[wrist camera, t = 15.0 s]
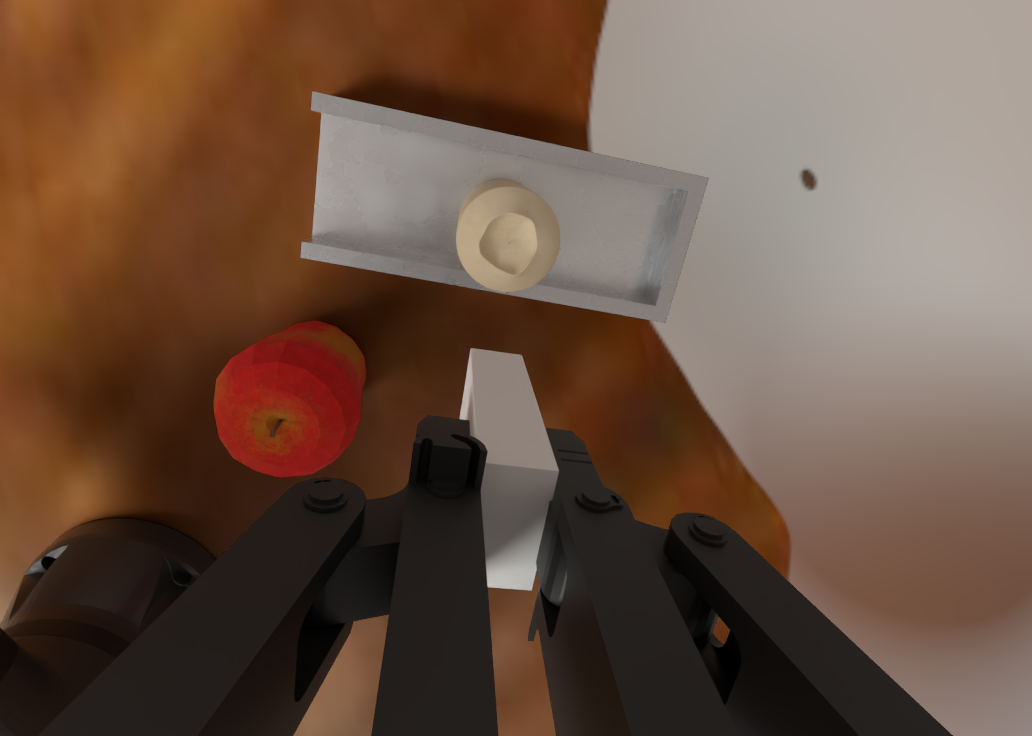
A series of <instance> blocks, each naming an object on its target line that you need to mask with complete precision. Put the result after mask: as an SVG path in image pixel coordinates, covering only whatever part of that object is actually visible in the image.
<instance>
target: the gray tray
mask: <svg viewBox="0 0 1032 736" xmlns="http://www.w3.org/2000/svg"><path fill="white" fill-rule="evenodd" d="M311 111H315V112H319V113H322V114H321V127H320V140H319V154H318V167H317V180H316V193H315V206H314V219H313V232H312V236H311V237H309V238H307V239H305V240H304V241H302V244H301V258H305V259H311V260H317V261H322V262H328V263H333V264H339V265H345V266H350V267H356V268H361V269H367V270H373V271H378V272H384V273H389V274H395V275H401V276H406V277H412V278H417V279H423V280H429V281H434V282H440V283H445V284H451V285H457V286H462V287H468V288H473V289H479V290H485V291H490V292H496V293H501V294H507V295H512V296H518V297H524V298H529V299H535V300H540V301H546V302H552V303H557V304H563V305H568V306H574V307H580V308H585V309H591V310H596V311H602V312H608V313H613V314H619V315H624V316H630V317H636V318H641V319H647V320H652V321H659V322H664V323H665V322H666V319H667V316H668V312H669V309H670V306H671V302H672V299H673V295H674V292H675V289H676V286H677V282H678V279H679V276H680V272H681V269H682V266H683V262H684V259H685V255H686V252H687V249H688V245H689V242H690V239H691V235H692V232H693V229H694V225H695V222H696V219H697V215H698V212H699V209H700V205H701V202H702V198H703V195H704V192H705V188H706V185H707V182H708V178H706V177H701V176H697V175H692V174H688V173H683V172H679V171H674V170H670V169H665V168H661V167H656V166H651V165H647V164H642V163H638V162H633V161H629V160H624V159H619V158H615V157H610V156H606V155H601V154H597V153H592V152H587V151H583V150H578V149H574V148H569V147H565V146H560V145H555V144H551V143H546V142H542V141H537V140H532V139H528V138H523V137H519V136H514V135H510V134H505V133H500V132H496V131H491V130H487V129H482V128H478V127H473V126H468V125H464V124H459V123H455V122H450V121H446V120H441V119H436V118H432V117H427V116H423V115H418V114H414V113H409V112H404V111H400V110H395V109H391V108H386V107H381V106H377V105H372V104H368V103H363V102H359V101H354V100H349V99H345V98H340V97H336V96H331V95H327V94H322V93H317V92H313V91H312V103H311ZM495 179H506V180H511V181H514V182H517V183H519V184H521V185H523V186H525V187H526V188H528V189H529V190H531V191H532V192H534V193H535V194H537V195H538V196H540V197H541V198H542V199H543V200H544V201H545V202H546V203H547V204H548V205H549V206H550V208H551V209H552V211H553V213H554V214H555V216H556V219H557V221H558V225H559V229H560V249H559V253H558V256H557V259H556V261H555V263H554V265H553V267H552V268H551V270H550V271H549V273H548V274H547V275H546V276H545V277H544V278H543V279H542V280H540V281H539V282H538V283H536V284H535V285H533V286H531V287H529V288H527V289H524V290H521V291H516V292H500V291H495V290H492V289H489V288H487V287H485V286H483V285H481V284H480V283H478V282H477V281H475V280H474V279H473V278H472V277H471V276H470V275H469V274H468V273H467V271H466V270H465V268H464V267H463V265H462V263H461V261H460V258H459V255H458V252H457V247H456V232H457V226H458V220H459V214H460V210H461V207H462V205H463V202H464V200H465V199H466V197H467V196H468V195H469V193H470V192H471V191H472V190H473V189H474V188H476V187H477V186H479V185H480V184H482V183H484V182H487V181H490V180H495Z"/></svg>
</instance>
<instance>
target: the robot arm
mask: <svg viewBox="0 0 1032 736" xmlns="http://www.w3.org/2000/svg"><path fill="white" fill-rule="evenodd" d="M536 569H537V571H538V576H539V582H540V586H539V590H538V595H537V599H536V603H535V607H534V612H533V616H532V620H531V624H530V629H529V635H528V641H534V637H535V633H536V630H537V629H539V635H540V641H541V647H542V653H543V659H544V665H545V671H546V677H547V683H548V689H549V695H550V701H551V707H552V713H553V719H554V725H555V731H556V736H953V735H951V734H950V733H949V732H948V731H947V730H946V729H945V728H944V727H943V726H942V725H941V724H940V723H938V721H936V720H935V719H934V718H933V717H932V716H931V715H930V714H929V713H928V712H927V711H926V710H925V709H924V708H923V707H922V706H921V705H919V704H918V703H917V702H916V701H915V700H914V699H913V698H912V697H911V696H910V695H909V694H908V693H907V692H906V691H905V690H903V689H902V688H901V687H900V686H899V685H898V684H897V683H896V682H895V681H894V680H893V679H892V678H891V677H890V676H889V675H887V674H886V673H885V672H884V671H883V670H882V669H881V668H880V667H879V666H878V665H877V664H876V663H875V662H874V661H873V660H871V659H870V658H869V657H868V656H867V655H866V654H865V653H864V652H863V651H862V650H861V649H860V648H859V647H857V645H855V643H853V642H852V641H851V640H850V639H849V638H848V637H847V636H846V635H845V634H844V633H843V632H842V631H841V630H840V629H839V628H837V627H836V626H835V625H834V624H833V623H832V622H831V621H830V620H829V619H828V618H827V617H825V615H823V613H822V612H820V611H819V610H818V609H817V608H816V607H815V606H814V605H813V604H812V603H811V602H810V601H809V600H807V598H806V597H804V596H803V595H802V594H801V593H800V592H799V591H798V590H797V589H796V588H795V587H794V586H793V585H792V584H791V583H790V582H788V581H787V580H786V579H785V578H784V577H783V576H782V575H781V574H780V573H779V572H778V571H777V570H776V569H775V568H774V567H772V566H771V565H770V564H769V563H768V562H767V561H766V560H765V559H764V558H763V557H762V556H761V555H760V554H759V553H758V552H757V551H755V550H754V549H753V548H752V547H751V546H750V545H749V544H748V543H747V542H746V541H745V540H744V539H743V538H742V537H741V536H739V535H738V534H737V533H736V532H735V531H734V530H732V529H731V528H730V527H728V526H727V525H726V524H724V523H722V522H720V521H718V520H716V519H715V518H713V517H711V516H708V515H706V516H705V514H700V513H682V514H677V515H676V516H675V517H674V518H673V519H672V520H671V523H670V526H669V529H668V530H666V529H662V528H659V527H656V526H652V525H649V524H645V523H643V522H640V521H637V520H635V519H634V517H633V515H632V512H631V510H630V508H629V506H628V505H627V503H626V502H625V501H624V500H623V498H622V497H620V496H619V495H617V494H616V493H615V492H613V491H611V490H609V489H606V488H604V487H603V485H602V483H601V481H600V479H599V476H598V474H597V472H596V469H595V467H594V465H593V464H592V460H591V458H590V456H589V455H588V451H587V449H586V447H585V444H584V442H583V441H582V440H581V439H580V438H578V437H577V436H576V435H575V434H574V433H573V432H572V431H566V430H558V429H550V428H545V426H544V423H543V420H542V416H541V413H540V410H539V407H538V404H537V401H536V398H535V395H534V392H533V388H532V385H531V382H530V379H529V376H528V373H527V370H526V367H525V363H524V360H523V357H522V355H518V354H510V353H503V352H496V351H489V350H482V349H475V348H471V349H470V356H469V362H468V368H467V375H466V381H465V387H464V393H463V400H462V406H461V412H460V419H454V418H446V417H437V416H429V415H428V416H427V417H426V418H424V419H423V420H422V421H421V422H420V423H418V427H417V434H416V440H415V442H414V445H413V453H412V461H411V468H410V476H409V482H408V484H407V486H406V487H405V488H404V489H403V490H401V491H399V492H398V493H396V494H394V495H391V496H388V497H384V498H378V499H371V500H366V497H365V495H364V492H363V491H362V490H361V489H360V488H359V487H357V486H356V485H355V484H353V483H350V482H347V481H345V480H341V479H333V478H316V479H311V480H307V481H304V482H301V483H298V484H296V485H295V486H293V487H292V488H290V489H289V490H287V491H286V492H285V493H284V494H283V495H282V496H281V497H280V498H279V499H278V500H277V501H276V502H275V503H274V504H273V505H272V506H271V507H270V508H269V509H268V510H267V511H266V512H265V513H264V514H263V515H262V516H261V517H260V518H259V519H258V520H257V521H256V522H255V523H254V524H253V525H252V526H251V527H250V528H249V529H248V530H247V531H246V532H245V533H244V534H243V535H242V536H241V537H239V538H238V539H237V540H236V541H235V542H234V543H233V544H232V545H231V546H230V547H229V548H228V549H227V550H226V551H225V552H224V553H223V554H222V555H221V556H220V557H219V558H218V559H217V560H215V559H214V558H213V557H212V556H211V555H210V554H209V553H208V552H207V551H206V550H205V549H204V548H203V547H202V546H200V545H199V544H198V543H196V542H195V541H193V540H192V539H190V538H189V537H187V536H185V535H183V534H181V533H180V532H177V531H175V530H173V529H171V528H168V527H165V526H162V525H159V524H156V523H152V522H148V521H143V520H136V519H120V518H118V519H104V520H98V521H93V522H89V523H86V524H83V525H80V526H77V527H75V528H73V529H71V530H69V531H67V532H66V533H64V534H63V535H61V536H60V537H59V538H58V539H56V540H55V541H54V542H53V543H52V544H51V545H50V546H49V547H48V548H47V549H46V550H45V551H44V552H42V553H41V554H40V555H39V556H38V557H37V558H36V559H35V560H34V562H33V563H32V564H31V565H30V567H29V568H28V570H27V571H26V573H25V575H24V576H23V578H22V580H21V583H20V585H19V587H18V589H17V591H16V593H15V595H14V597H13V599H12V601H11V603H10V605H9V607H8V609H7V611H6V614H5V616H4V618H3V620H2V622H1V624H0V736H293V735H294V733H295V731H296V730H297V728H298V726H299V724H300V722H301V721H302V719H303V717H304V715H305V713H306V712H307V710H308V708H309V706H310V704H311V703H312V701H313V699H314V697H315V695H316V694H317V692H318V690H319V688H320V686H321V685H322V683H323V681H324V679H325V677H326V676H327V674H328V672H329V670H330V668H331V667H332V665H333V663H334V661H335V659H336V658H337V656H338V654H339V652H340V650H341V649H342V647H343V645H344V643H345V641H346V640H347V638H348V636H349V634H350V632H351V629H352V625H353V621H357V620H362V619H367V618H372V617H378V616H383V615H388V614H389V619H388V626H387V633H386V640H385V646H384V653H383V660H382V667H381V674H380V680H379V687H378V694H377V701H376V708H375V714H374V721H373V728H372V735H371V736H498V725H497V711H496V697H495V683H494V670H493V656H492V642H491V628H490V614H489V600H488V587H494V588H507V589H520V590H532V587H533V582H534V578H535V573H536ZM718 617H720V618H721V619H722V621H723V622H724V623H725V624H726V625H727V627H728V628H729V629H730V633H729V635H728V638H727V641H726V643H725V644H724V645H723V644H722V643H721V642H720V641H719V640H718V639H717V638H716V637H715V635H714V634H713V630H714V627H715V625H716V622H717V619H718Z"/></svg>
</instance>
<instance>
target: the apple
mask: <svg viewBox="0 0 1032 736" xmlns="http://www.w3.org/2000/svg"><path fill="white" fill-rule="evenodd" d="M366 376H367V374H366V366H365V359H364V355H363V354H362V352H361V351H360V349H359V348H358V346H357V345H356V344H355V342H354V341H353V339H351V338H350V337H349V336H348V335H346V334H345V333H344V332H343V331H341V330H340V329H339V328H338V327H336V326H333V325H330V324H327V323H323V322H320V321H316V320H314V321H308V322H302V323H296V324H294V325H292V326H290V327H289V328H287V329H285V330H284V331H281V332H278V333H275V334H273V335H270V336H267V337H265V338H263V339H262V340H260V341H259V342H257V343H255V344H254V345H252V346H250V347H249V348H247V349H246V350H244V351H242V352H241V353H239V354H237V355H236V356H234V357H233V358H231V359H230V360H229V362H228V363H227V365H226V366H225V367H224V369H223V370H222V372H221V373H220V375H219V376H218V377H217V379H216V386H215V395H214V414H215V420H216V425H217V430H218V435H219V438H220V440H221V441H222V443H223V444H224V446H225V447H226V449H227V450H228V452H229V453H230V455H231V456H232V458H234V459H236V460H237V461H239V462H241V463H242V464H244V465H246V466H247V467H249V468H251V469H253V470H254V471H258V472H261V473H265V474H268V475H271V476H275V477H278V478H280V477H292V476H303V475H309V474H313V473H315V472H317V471H318V470H320V469H322V468H324V467H325V466H327V465H329V464H330V463H332V462H334V461H336V459H337V458H338V457H339V456H340V455H341V454H342V453H343V451H344V450H345V449H346V448H347V447H348V446H349V445H350V444H351V442H352V441H353V438H354V435H355V432H356V429H357V426H358V424H359V421H360V416H361V407H362V390H363V386H364V383H365V379H366Z"/></svg>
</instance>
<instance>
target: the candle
mask: <svg viewBox="0 0 1032 736" xmlns="http://www.w3.org/2000/svg"><path fill="white" fill-rule="evenodd" d="M456 247H457V252H458V255H459V258H460V261H461V263H462V265H463V267H464V268H465V270H466V271H467V273H468V274H469V275H470V276H471V277H472V278H473V279H474V280H475V281H477V282H478V283H480V284H481V285H483V286H485V287H487V288H489V289H492V290H495V291H500V292H516V291H521V290H524V289H527V288H529V287H531V286H533V285H535V284H536V283H538V282H539V281H540V280H542V279H543V278H544V277H545V276H546V275H547V274H548V273H549V271H550V270H551V268H552V267H553V265H554V263H555V261H556V259H557V256H558V253H559V249H560V229H559V225H558V221H557V219H556V216H555V214H554V213H553V211H552V209H551V208H550V206H549V205H548V204H547V203H546V202H545V201H544V200H543V199H542V198H541V197H540V196H538V195H537V194H535V193H534V192H532V191H531V190H529V189H528V188H526V187H525V186H523V185H521V184H519V183H517V182H514V181H511V180H506V179H495V180H490V181H487V182H484V183H482V184H480V185H479V186H477V187H476V188H474V189H473V190H472V191H471V192H470V193H469V195H468V196H467V197H466V199H465V200H464V202H463V205H462V207H461V210H460V214H459V220H458V226H457V232H456Z"/></svg>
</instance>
